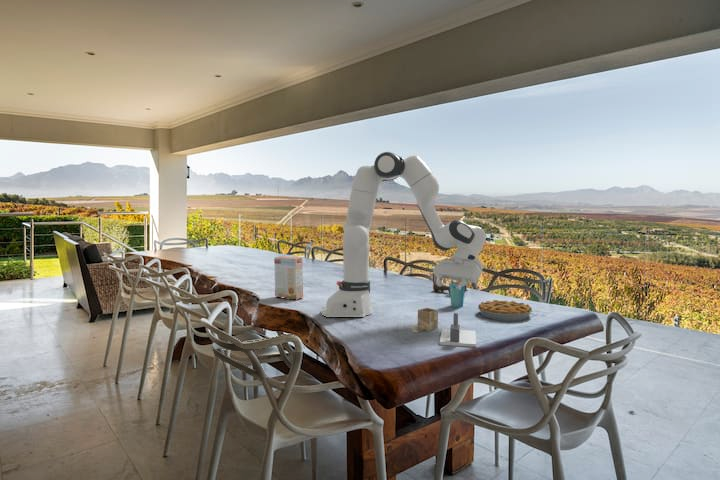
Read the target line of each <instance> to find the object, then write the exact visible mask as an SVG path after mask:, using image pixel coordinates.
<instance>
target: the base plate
mask: <svg viewBox="0 0 720 480" xmlns="http://www.w3.org/2000/svg"><path fill="white" fill-rule="evenodd" d="M440 333H441V334H440V337H439V345H441V346H454V347H468V348H469V347H470V348H477V337H476V335H477V333H476V330H469V329H468V330H466V329H460V330H459V342H450V329H449V328H447V329H446V328H442V329H441V332H440Z"/></svg>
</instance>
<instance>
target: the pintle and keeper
mask: <svg viewBox="0 0 720 480" xmlns="http://www.w3.org/2000/svg"><path fill="white" fill-rule="evenodd" d="M452 322H453V324H452V323H451V324H450V342H459V330H461V329H460V327H461V325H460V324H459V313H458V312H457V313H456V312H454V313H453V321H452Z"/></svg>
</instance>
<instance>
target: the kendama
mask: <svg viewBox="0 0 720 480" xmlns="http://www.w3.org/2000/svg"><path fill="white" fill-rule="evenodd" d="M437 282H438V281H437ZM437 282H434V283H433V285H432V288H433V289H432V290H433V291H434V292H438V291H439V292H445V291H448V294H449V295H450V286H449V285H445V283H443V284H442V286H437ZM468 291H469V290H468V289H467V285H466V286H465V291H464V294H465V293H467V292H468Z"/></svg>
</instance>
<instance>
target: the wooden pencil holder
mask: <svg viewBox="0 0 720 480" xmlns="http://www.w3.org/2000/svg"><path fill="white" fill-rule="evenodd" d="M438 325H439V310H438V309H433V308H429V307H425V308H420V309H418V310H417V326H414V327H412V332H413V333H418V332H422V331H427V332H430V331H432V330H437V329H438V328H439V326H438Z"/></svg>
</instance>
